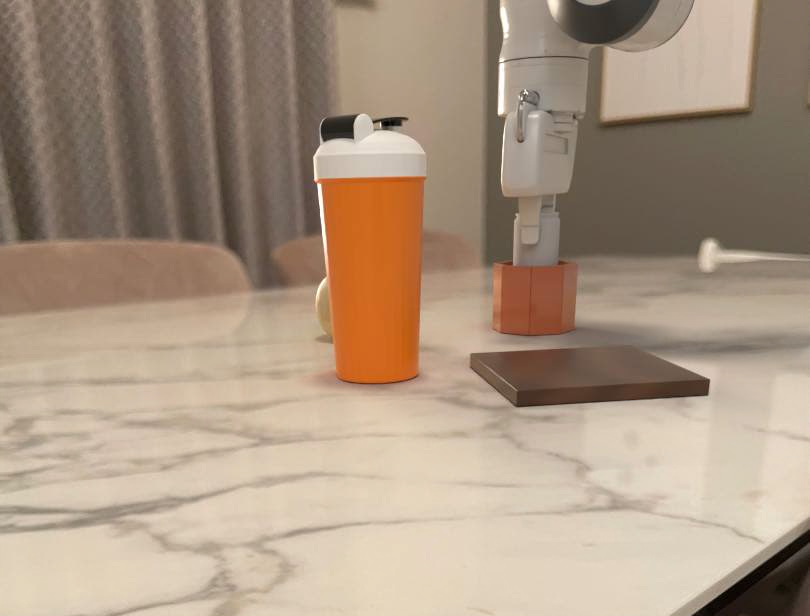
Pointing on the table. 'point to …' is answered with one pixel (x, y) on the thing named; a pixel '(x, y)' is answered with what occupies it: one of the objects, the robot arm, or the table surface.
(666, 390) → the board
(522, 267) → the crock
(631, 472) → the table surface
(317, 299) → the apple
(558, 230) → the beverage can
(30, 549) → the table surface
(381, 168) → the shaker bottle
